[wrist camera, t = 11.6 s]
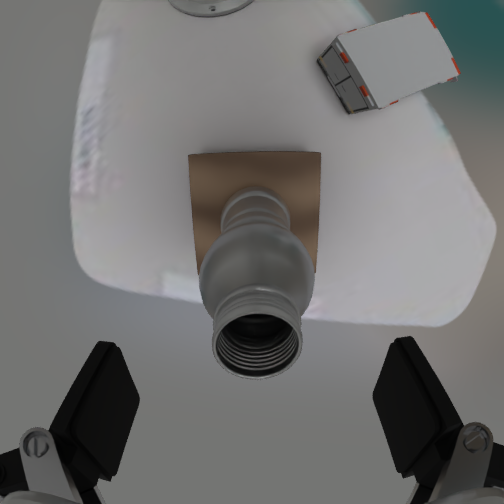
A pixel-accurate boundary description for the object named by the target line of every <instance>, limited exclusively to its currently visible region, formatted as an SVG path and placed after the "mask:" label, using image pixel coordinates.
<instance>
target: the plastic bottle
mask: <svg viewBox="0 0 504 504" xmlns="http://www.w3.org/2000/svg"><path fill="white" fill-rule="evenodd" d="M221 233H222V234H221V235H220V236H219V237H218V238H217V239H216V240H215V241H214V243H213V244H212V245H211V247H210V248H209V250H208V252H207V253H206V255H205V257H204V259H203V262H202V264H201V267H200V273H199V288H200V292H201V296H202V300H203V304H204V306H205V308H206V310H207V312H208V313H209V315H210V316H211V317H212V318H213V330H214V333H213V337H212V350H213V354H214V357H215V358H216V360H217V362H218V363H219V364H220V366H221V367H222V368H223V369H225V370H226V371H228V372H229V373H231V374H233V375H235V376H238V377H241V378H246V379H266V378H270V377H274V376H277V375H279V374H281V373H283V372H284V371H286V370H287V369H289V368H290V367H291V366H292V365H293V364H294V363H295V362H296V360H297V359H298V357H299V355H300V353H301V349H302V342H303V341H302V332H301V316H302V315H303V314H304V312H305V311H306V309H307V307H308V306H309V303H310V301H311V298H312V294H313V288H314V282H315V272H314V266H313V262H312V259H311V257H310V255H309V253H308V251H307V249H306V248H305V246H304V245H303V243H302V242H301V241H300V240H299V239H298V238H297V237H296V236H295V235H294V234H293V233H292V232H291V231H290V213H289V209H288V206H287V205H286V203H285V201H284V200H283V199H282V197H281V196H280V195H279V194H277V193H276V192H275V191H273V190H271V189H268V188H265V187H260V186H253V187H247V188H244V189H242V190H239V191H238V192H236V193H235V194H233V195H232V196H231V197H230V198H229V199H228V201H227V202H226V204H225V206H224V208H223V210H222V214H221Z"/></svg>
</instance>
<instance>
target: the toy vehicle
mask: <svg viewBox="0 0 504 504" xmlns="http://www.w3.org/2000/svg"><path fill="white" fill-rule="evenodd" d="M317 61H318V63H319V65H320V66H321V68H322V69H323V71H324V72H325V74H326V76H327V77H328V79H329V81H330V82H331V84H332V86H333V87H334V89H335V91H336V93H337V94H338V96H339V98H340V100H341V101H342V103H343V105H344V107H345V108H346V110H347V112H348V114H353V113H358V112H363V111H368V110H373V109H382V108H385V107H387V106H389V105H391V104H394V103H396V102H398V100H399V99H401V98H403V97H406V96H408V95H410V94H413V93H415V92H417V91H420V90H422V89H425V88H427V87H429V86H432V85H434V84H440V83H443V82H446V81H448V80H450V82H456V81H458V79H457V76H458V75H459V74H460V71H459V69H458V67H457V65H456V62H455V60H454V58H453V56H452V55H451V52H450V51H449V49H448V47H447V45H446V43H445V41H444V40H443V38H442V36H441V34H440V33H439V31H438V29H437V27H436V26H435V24H434V22H433V21H432V19H431V18H430V16H429V15H428V13H424V12H422V13H421V12H420V11H419V12H417V13H412V14H407V15H403V16H402V17H400V18H396V19H392V20H388V21H384V22H381V23H377V24H374V25H370V26H367V27H364V28H361V29H358V30H357V29H354V30H351V31H348V32H345V33H342V34H340V35H338V36H337V37H336V38H335V39H334V41H333V42H332V43H331V44H330V45H329V46H328V48H327V49H326V50H325V51H324V52H323V53H322V55H321V56H320V57H319V58H318V59H317Z"/></svg>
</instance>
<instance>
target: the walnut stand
mask: <svg viewBox="0 0 504 504" xmlns="http://www.w3.org/2000/svg"><path fill="white" fill-rule="evenodd" d="M188 160H189V177H190V192H191V205H192V218H193V230H194V241H195V251H196V261H197V270H198V275H199V273H200V267H201V264H202V262H203V259H204V257H205V255H206V253H207V252H208V250H209V248H210V247H211V245H212V244H213V243H214V241H215V240H216V239H217V238H218V237H219V236H220V235H221V234H222V233H221V214H222V210H223V208H224V206H225V204H226V202H227V201H228V199H229V198H230V197H231V196H232V195H233V194H235V193H236V192H238V191H239V190H242V189H244V188H247V187H253V186H260V187H265V188H268V189H271V190H273V191H275V192H276V193H277V194H279V195H280V196H281V197H282V199H283V200H284V201H285V203H286V205H287V206H288V209H289V213H290V231H291V232H292V233H293V234H294V235H295V236H296V237H297V238H298V239H299V240H300V241H301V242H302V243H303V245H304V246H305V248H306V249H307V251H308V253H309V255H310V257H311V259H312V262H313V266H314V272H315V273H316V262H317V247H318V229H319V207H320V174H321V153H319V152H296V151H258V152H225V153H206V154H191V155H188Z"/></svg>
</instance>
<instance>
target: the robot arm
mask: <svg viewBox="0 0 504 504" xmlns="http://www.w3.org/2000/svg"><path fill="white" fill-rule="evenodd" d="M252 1H253V0H169V2H170V3H171V4H172V5H173V6H174V7H175V8H177V9H178V10H180V11H182V12H184V13H186V14H190V15H194V16H202V17H210V16H220V15H225V14H228V13H231V12H235V11H237V10H239V9H241V8H243V7H245V6H246V5H248V4H249V3H251V2H252ZM212 10H215V11H213V12H212ZM139 401H140V397H139V394H138V392H137V389H136V387H135V384H134V382H133V380H132V377H131V375H130V373H129V370H128V367H127V365H126V362H125V360H124V357H123V355H122V352H121V350H120V348H119V347H117V346H116V344H115V343H113V342H105V341H99V342H97V344H96V345H95V347H94V349H93V350H92V352H91V353H90V355H89V357H88V359H87V360H86V362H85V364H84V366H83V367H82V369H81V371H80V372H79V374H78V376H77V378H76V379H75V381H74V383H73V384H72V386H71V388H70V390H69V392H68V393H67V396H66V397H65V399H64V401H63V403H62V405H61V406H60V408H59V410H58V412H57V414H56V416H55V418H54V420H53V422H52V424H51V426H50V428H49V430H46V429H44V428H40V427H35V428H31V429H29V430H27V431H26V432H25V433H24V434H23V436H22V437H21V439H20V443H19V445H20V446H19V448H17V449H14V450H12V451H9V452H6V453H3V454H1V455H0V504H106V503H105V501H104V499H103V497H102V495H101V493H100V491H99V489H98V487H97V482H98V479H99V478H100V479H103V480H106V481H111V478H112V476H115V475H116V474H117V471H118V468H119V465H120V461H121V458H122V455H123V452H124V448H125V445H126V442H127V439H128V436H129V433H130V430H131V427H132V423H133V421H134V417H135V415H136V411H137V409H138V406H139ZM373 401H374V404H375V407H376V410H377V413H378V416H379V418H380V421H381V424H382V427H383V430H384V433H385V436H386V439H387V442H388V445H389V448H390V451H391V455H392V457H393V461H394V464H395V467H396V470H397V472H398V473H401V474H402V477H403V478H406V477H410V476H413V475H415V478H416V481H417V482H416V485H415V487H414V489H413V491H412V493H411V495H410V497H409V499H408V501H407V503H406V504H504V446H503V445H500V444H497V443H494V442H493V435H492V433H491V431H490V429H489V428H488V427H487V426H485V425H484V424H481V423H479V422H472V423H468V424H466V425H465V426H464V425H463V423H462V421H461V419H460V417H459V415H458V413H457V411H456V409H455V408H454V406H453V404H452V402H451V400H450V398H449V396H448V395H447V393H446V392H445V389H444V388H443V386H442V384H441V382H440V381H439V379H438V377H437V375H436V374H435V372H434V371H433V369H432V368H431V366H430V364H429V363H428V361H427V359H426V357H425V356H424V354H423V353H422V351H421V349H420V348H419V346H418V345H417V343H416V341H415V340H414V338H413V337H411V336H408V337H401V338H396V339H395V340H394V343H391V344H390V347H389V350H388V352H387V356H386V358H385V361H384V364H383V367H382V370H381V372H380V375H379V378H378V380H377V383H376V386H375V388H374V391H373Z"/></svg>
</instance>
